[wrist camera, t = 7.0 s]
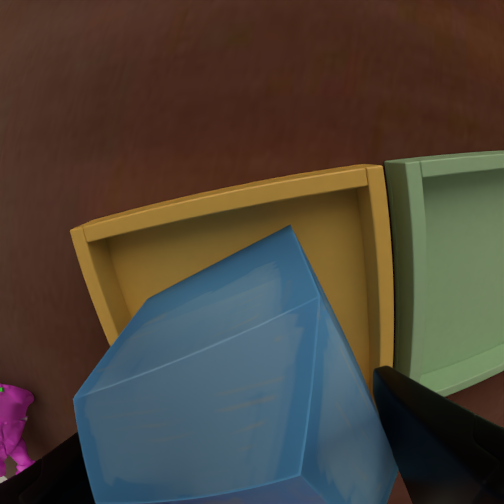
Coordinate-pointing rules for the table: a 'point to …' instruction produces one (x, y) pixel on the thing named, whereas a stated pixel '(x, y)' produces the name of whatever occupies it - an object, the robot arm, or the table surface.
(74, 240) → the ochre tray
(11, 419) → the pelvis
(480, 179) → the sage tray
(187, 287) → the perfume bottle
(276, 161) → the table surface
